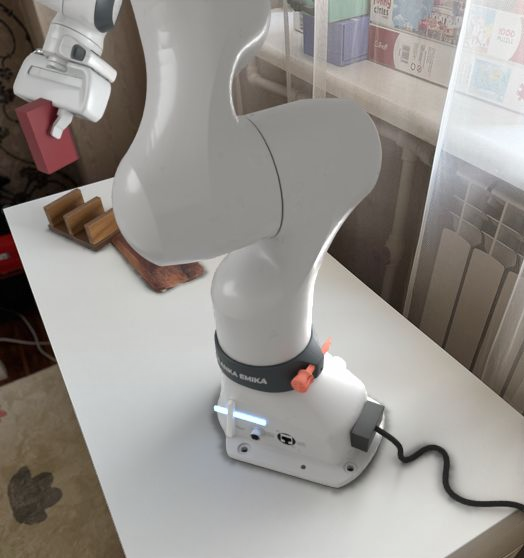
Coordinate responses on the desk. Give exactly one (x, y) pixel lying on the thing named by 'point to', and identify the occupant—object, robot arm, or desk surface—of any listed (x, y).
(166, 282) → the brown flat bent piece
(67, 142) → the book
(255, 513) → the desk surface
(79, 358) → the desk surface
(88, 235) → the book rack
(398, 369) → the desk surface
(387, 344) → the desk surface
